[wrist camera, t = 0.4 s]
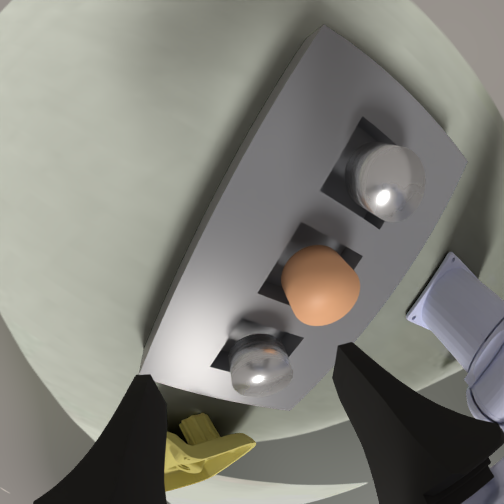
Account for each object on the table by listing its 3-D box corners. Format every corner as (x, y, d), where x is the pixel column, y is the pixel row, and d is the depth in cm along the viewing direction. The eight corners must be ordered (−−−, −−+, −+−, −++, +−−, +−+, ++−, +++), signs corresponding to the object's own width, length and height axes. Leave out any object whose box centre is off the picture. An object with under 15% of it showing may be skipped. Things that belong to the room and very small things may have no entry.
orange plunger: (354, 260, 17) (372, 279, 15) (319, 309, 18) (332, 332, 16) (304, 233, 16) (319, 251, 13) (268, 290, 17) (277, 314, 15)
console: (442, 154, 18) (467, 161, 15) (282, 387, 26) (289, 410, 23) (306, 38, 13) (323, 24, 11) (143, 349, 21) (138, 376, 19)
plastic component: (209, 478, 31) (148, 495, 25) (187, 440, 36) (129, 452, 30) (272, 433, 23) (182, 464, 17) (236, 378, 28) (149, 393, 22)
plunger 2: (410, 166, 15) (435, 174, 13) (379, 220, 16) (401, 234, 14) (366, 128, 13) (390, 130, 11) (331, 187, 15) (352, 198, 12)
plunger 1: (295, 341, 19) (304, 366, 17) (266, 377, 20) (272, 401, 18) (245, 326, 18) (250, 352, 16) (218, 365, 19) (221, 391, 17)
